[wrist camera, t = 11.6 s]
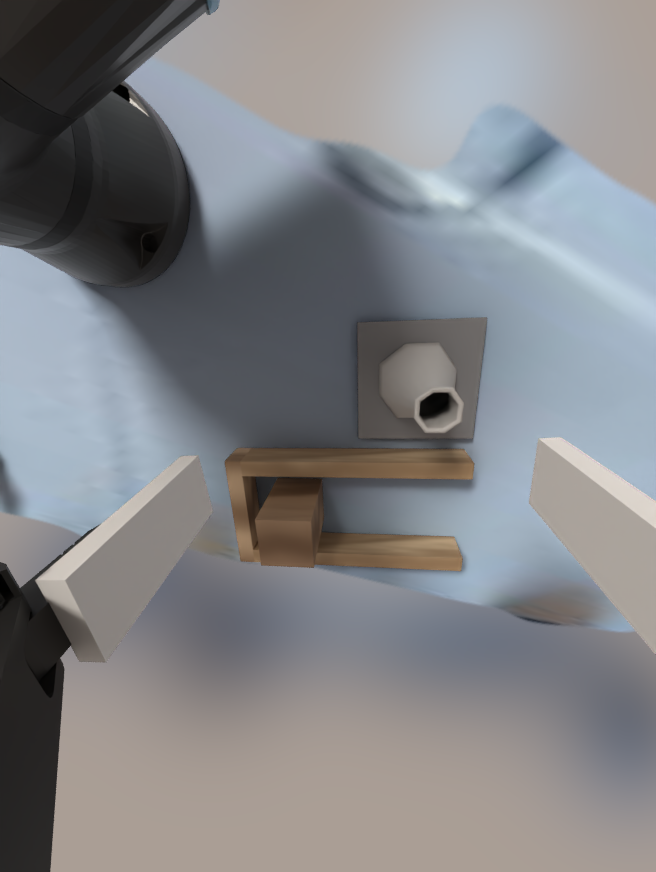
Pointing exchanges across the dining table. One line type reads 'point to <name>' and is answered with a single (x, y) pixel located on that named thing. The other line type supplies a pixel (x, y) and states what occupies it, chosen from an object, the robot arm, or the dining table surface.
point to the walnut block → (291, 523)
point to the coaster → (388, 336)
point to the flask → (422, 386)
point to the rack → (348, 465)
